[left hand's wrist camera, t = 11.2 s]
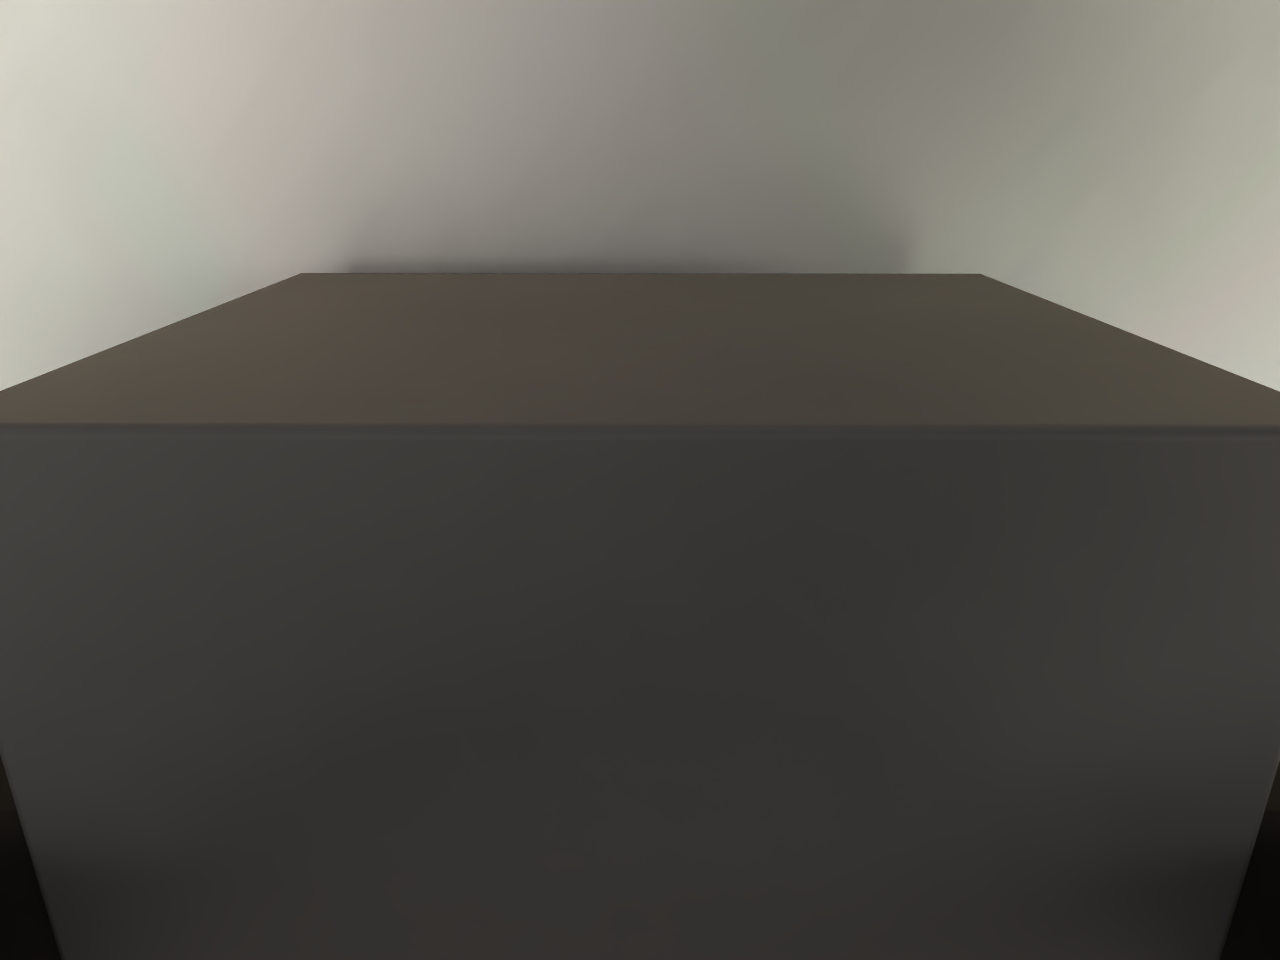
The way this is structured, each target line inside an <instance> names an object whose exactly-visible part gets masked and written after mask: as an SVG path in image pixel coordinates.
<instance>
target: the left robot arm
mask: <svg viewBox="0 0 1280 960" xmlns="http://www.w3.org/2000/svg"><path fill="white" fill-rule="evenodd" d="M0 960H61V957H60V954H59V950H58V947H57V944H56V940H55V937H54V934H53V930H52V927H51V924H50V920H49V917H48V913H47V910H46V907H45V903H44V900H43V897H42V893H41V890H40V887H39V883H38V880H37V876H36V873H35V870H34V866H33V863H32V860H31V856H30V853H29V850H28V846H27V843H26V839H25V836H24V833H23V829H22V826H21V823H20V819H19V816H18V813H17V809H16V806H15V802H14V799H13V796H12V792H11V789H10V786H9V782H8V779H7V775H6V772H5V769H4V765H3V762H2V759H1V755H0ZM1220 960H1280V761H1279V765H1278V768H1277V771H1276V775H1275V778H1274V781H1273V785H1272V788H1271V791H1270V795H1269V798H1268V801H1267V805H1266V808H1265V811H1264V815H1263V818H1262V821H1261V825H1260V828H1259V831H1258V835H1257V838H1256V841H1255V845H1254V848H1253V851H1252V855H1251V858H1250V861H1249V865H1248V868H1247V871H1246V875H1245V878H1244V881H1243V885H1242V888H1241V891H1240V895H1239V898H1238V901H1237V905H1236V908H1235V911H1234V915H1233V918H1232V921H1231V925H1230V928H1229V931H1228V935H1227V938H1226V941H1225V945H1224V948H1223V951H1222V955H1221V958H1220Z"/></svg>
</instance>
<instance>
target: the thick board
mask: <svg viewBox="0 0 1280 960" xmlns="http://www.w3.org/2000/svg"><path fill="white" fill-rule="evenodd" d="M0 755H1V759H2V762H3V765H4V769H5V772H6V775H7V779H8V782H9V786H10V789H11V792H12V796H13V799H14V802H15V806H16V809H17V813H18V816H19V819H20V823H21V826H22V829H23V833H24V836H25V839H26V843H27V846H28V850H29V853H30V856H31V860H32V863H33V866H34V870H35V873H36V876H37V880H38V883H39V887H40V890H41V893H42V897H43V900H44V903H45V907H46V910H47V913H48V917H49V920H50V924H51V927H52V930H53V934H54V937H55V940H56V944H57V947H58V950H59V954H60V957H61V960H1220V958H1221V955H1222V951H1223V948H1224V945H1225V941H1226V938H1227V935H1228V931H1229V928H1230V925H1231V921H1232V918H1233V915H1234V911H1235V908H1236V905H1237V901H1238V898H1239V895H1240V891H1241V888H1242V885H1243V881H1244V878H1245V875H1246V871H1247V868H1248V865H1249V861H1250V858H1251V855H1252V851H1253V848H1254V845H1255V841H1256V838H1257V835H1258V831H1259V828H1260V825H1261V821H1262V818H1263V815H1264V811H1265V808H1266V805H1267V801H1268V798H1269V795H1270V791H1271V788H1272V785H1273V781H1274V778H1275V775H1276V771H1277V768H1278V765H1279V761H1280V392H1279V391H1276V390H1274V389H1271V388H1269V387H1266V386H1264V385H1261V384H1259V383H1256V382H1254V381H1251V380H1248V379H1246V378H1243V377H1241V376H1238V375H1236V374H1233V373H1231V372H1228V371H1226V370H1223V369H1220V368H1218V367H1215V366H1213V365H1210V364H1208V363H1205V362H1203V361H1200V360H1198V359H1195V358H1193V357H1190V356H1187V355H1185V354H1182V353H1180V352H1177V351H1175V350H1172V349H1170V348H1167V347H1165V346H1162V345H1159V344H1157V343H1154V342H1152V341H1149V340H1147V339H1144V338H1142V337H1139V336H1137V335H1134V334H1132V333H1129V332H1126V331H1124V330H1121V329H1119V328H1116V327H1114V326H1111V325H1109V324H1106V323H1104V322H1101V321H1098V320H1096V319H1093V318H1091V317H1088V316H1086V315H1083V314H1081V313H1078V312H1076V311H1073V310H1071V309H1068V308H1065V307H1063V306H1060V305H1058V304H1055V303H1053V302H1050V301H1048V300H1045V299H1043V298H1040V297H1037V296H1035V295H1032V294H1030V293H1027V292H1025V291H1022V290H1020V289H1017V288H1015V287H1012V286H1010V285H1007V284H1004V283H1002V282H999V281H997V280H994V279H992V278H989V277H987V276H984V275H982V274H515V273H301V274H298V275H296V276H293V277H291V278H288V279H286V280H283V281H281V282H278V283H275V284H273V285H270V286H268V287H265V288H263V289H260V290H258V291H255V292H252V293H250V294H247V295H245V296H242V297H240V298H237V299H235V300H232V301H230V302H227V303H224V304H222V305H219V306H217V307H214V308H212V309H209V310H207V311H204V312H201V313H199V314H196V315H194V316H191V317H189V318H186V319H184V320H181V321H178V322H176V323H173V324H171V325H168V326H166V327H163V328H161V329H158V330H155V331H153V332H150V333H148V334H145V335H143V336H140V337H138V338H135V339H132V340H130V341H127V342H125V343H122V344H120V345H117V346H115V347H112V348H109V349H107V350H104V351H102V352H99V353H97V354H94V355H92V356H89V357H86V358H84V359H81V360H79V361H76V362H74V363H71V364H69V365H66V366H63V367H61V368H58V369H56V370H53V371H51V372H48V373H46V374H43V375H41V376H38V377H35V378H33V379H30V380H28V381H25V382H23V383H20V384H18V385H15V386H12V387H10V388H7V389H5V390H2V391H0Z"/></svg>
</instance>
